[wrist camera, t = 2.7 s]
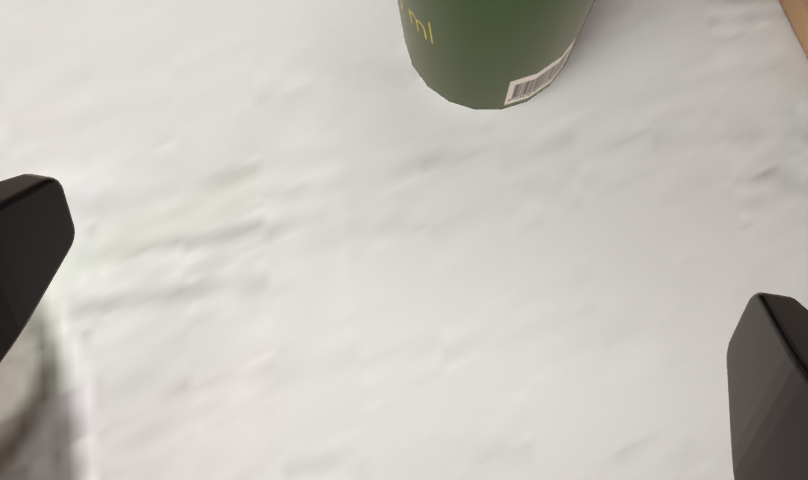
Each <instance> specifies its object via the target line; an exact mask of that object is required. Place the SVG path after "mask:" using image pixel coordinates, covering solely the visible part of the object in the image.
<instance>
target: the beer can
mask: <svg viewBox="0 0 808 480" xmlns="http://www.w3.org/2000/svg"><path fill="white" fill-rule="evenodd" d="M594 1H595V0H398V4H399V10H400V15H401V21H402V27H403V32H404V38H405V42H406V46H407V49H408V52H409V55H410V58H411V62H412V65H413V67H414V68H415V69H416V71H417V72H418V73H419V75H420V76H421V77H422V79H423V80H424V82H425V83H426V84H427V86H428V87H430V88H431V89H432V90H434V91H435V92H437V93H438V94H440V95H441V96H442V97H444V98H445V99H447V100H448V101H450V102H453V103H456V104H459V105H462V106H465V107H469V108H472V109H504V108H507V107H510V106H514V105H517V104H520V103H523V102H526V101H528V100H530V99H531V98H532V97H534V96H535V95H537V94H538V93H540V92H541V91H542V90H544V89H545V88H547V87H548V86H549V85H550V84H551V83H552V81H553V80H554V79H555V77H556V76H557V75H558V73H559V72H560V71H561V69H562V68H563V67H564V65H565V64H566V61H567V59H568V57H569V55H570V53H571V51H572V49H573V46H574V44H575V42H576V40H577V38H578V36H579V33H580V31H581V29H582V27H583V25H584V23H585V21H586V18H587V16H588V14H589V12H590V10H591V8H592V5H593V3H594Z"/></svg>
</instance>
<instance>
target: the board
mask: <svg viewBox="0 0 808 480" xmlns="http://www.w3.org/2000/svg"><path fill="white" fill-rule="evenodd" d="M779 1H780V3H781V5H782V7H783V9H784V11H785V13H786V15H787V17H788V19H789V21H790V23H791V25H792V27H793V29H794V31H795V34H796V36H797V38H798V40H799V42H800V44H801V46H802V48H803V50H804V52H805V54H806V56H807V58H808V0H779Z"/></svg>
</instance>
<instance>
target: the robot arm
mask: <svg viewBox="0 0 808 480" xmlns="http://www.w3.org/2000/svg"><path fill="white" fill-rule="evenodd" d="M74 235H75V228H74V224H73V221H72V217H71V214H70V210H69V207H68V204H67V200H66V197H65V194H64V190H63V187H62V185H61V184H60V183H59V181H58V180H56V179H54V178H52V177H46V176H40V175H34V174H23V175H20V176H16V177H13V178H10V179H7V180H4V181H0V362H1V361H2V360H3V358H4V357H5V356H6V354H7V353H8V351H9V350H10V349H11V347H12V346H13V344H14V343H15V341H16V340H17V338H18V337H19V335H20V334H21V332H22V331H23V329H24V327H25V326H26V324H27V323H28V321H29V319H30V318H31V316H32V314H33V312H34V311H35V309H36V307H37V305H38V304H39V302H40V300H41V298H42V297H43V295H44V293H45V291H46V290H47V288H48V286H49V284H50V283H51V281H52V279H53V277H54V276H55V274H56V272H57V270H58V269H59V267H60V265H61V263H62V262H63V260H64V258H65V256H66V255H67V253H68V251H69V249H70V248H71V246H72V243H73V240H74ZM727 374H728V392H729V410H730V428H731V446H732V461H733V472H734V479H735V480H808V310H807V309H806V308H805V307H804V306H802V305H801V304H800V303H799V302H798V301H796V300H795V299H793V298H791V297H787V296H781V295H774V294H768V293H757V294H755V295H753V296H752V298H751V299H750V300H749V302H748V304H747V306H746V308H745V310H744V312H743V314H742V316H741V319H740V321H739V323H738V325H737V327H736V329H735V331H734V333H733V335H732V338H731V340H730V342H729V346H728V351H727Z"/></svg>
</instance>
